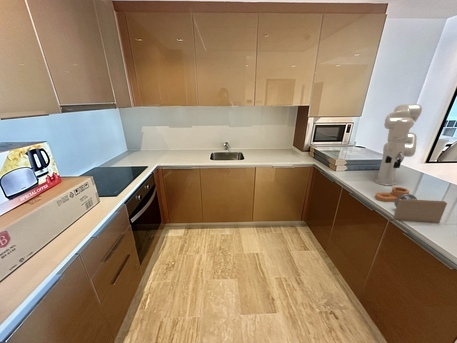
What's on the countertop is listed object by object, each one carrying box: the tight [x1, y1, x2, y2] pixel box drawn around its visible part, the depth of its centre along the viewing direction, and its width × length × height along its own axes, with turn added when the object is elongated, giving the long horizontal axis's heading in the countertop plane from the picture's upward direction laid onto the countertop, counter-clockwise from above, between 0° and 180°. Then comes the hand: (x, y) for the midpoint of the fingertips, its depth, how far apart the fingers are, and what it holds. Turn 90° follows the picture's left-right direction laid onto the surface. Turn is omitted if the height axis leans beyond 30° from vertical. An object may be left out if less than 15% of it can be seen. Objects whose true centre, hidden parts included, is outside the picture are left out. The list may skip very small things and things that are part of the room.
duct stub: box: [392, 193, 448, 224], centre depth 106 cm, size 12×20×12 cm, turn 78°
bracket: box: [374, 186, 410, 203], centre depth 125 cm, size 18×8×7 cm, turn 87°
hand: (391, 165), depth 126 cm, fingers open, 9 cm apart
